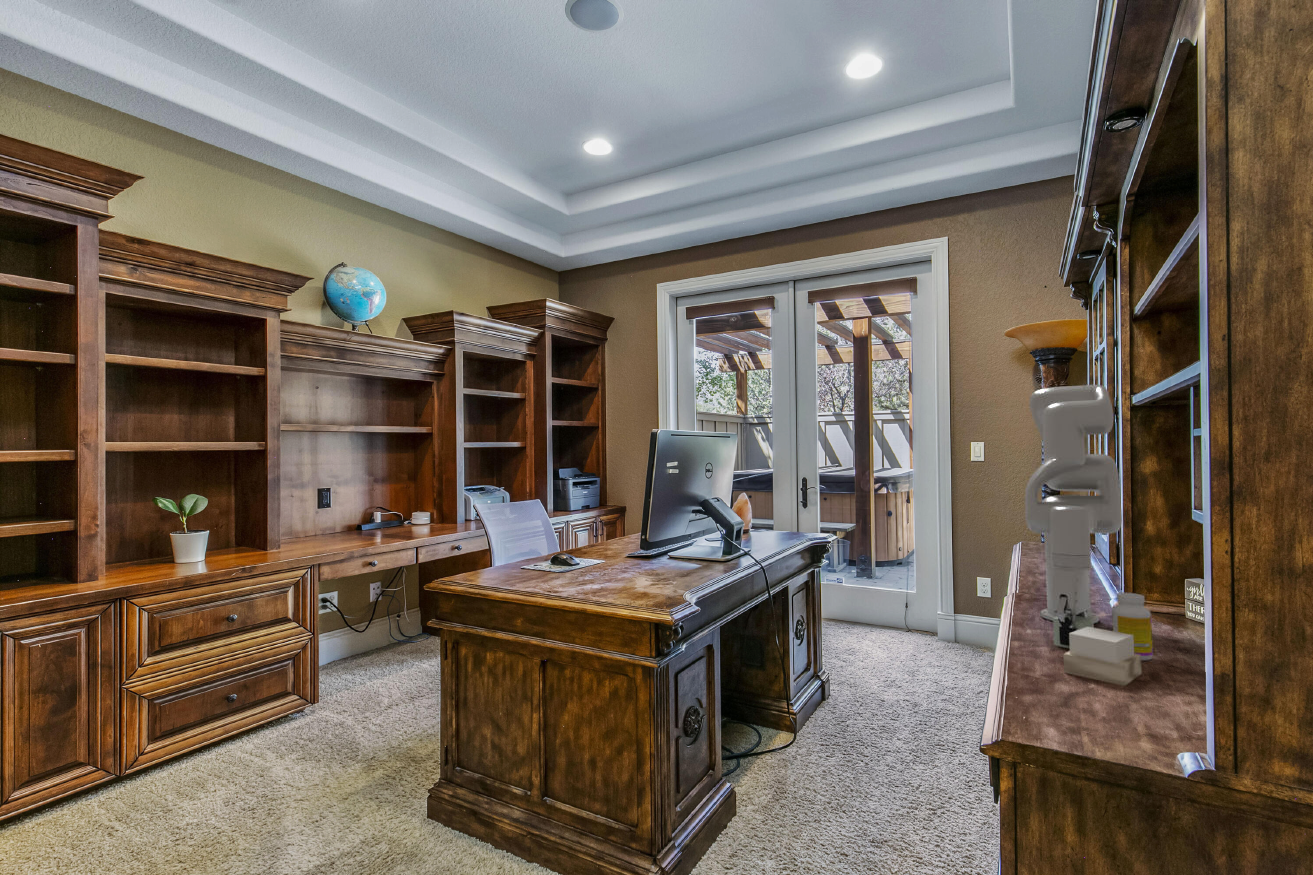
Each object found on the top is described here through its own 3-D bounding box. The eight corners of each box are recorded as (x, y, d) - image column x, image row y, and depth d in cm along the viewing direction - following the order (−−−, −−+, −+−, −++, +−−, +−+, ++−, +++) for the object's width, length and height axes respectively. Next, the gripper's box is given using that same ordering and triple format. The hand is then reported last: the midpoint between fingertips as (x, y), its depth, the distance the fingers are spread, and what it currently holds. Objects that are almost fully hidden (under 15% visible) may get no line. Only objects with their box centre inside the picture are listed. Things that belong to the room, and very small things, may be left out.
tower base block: (1083, 663, 134) (1082, 643, 134) (1141, 675, 126) (1140, 654, 126) (1064, 674, 128) (1063, 654, 128) (1124, 688, 120) (1123, 666, 120)
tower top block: (1088, 646, 132) (1087, 626, 132) (1134, 655, 126) (1133, 635, 126) (1069, 653, 128) (1069, 633, 128) (1116, 664, 121) (1115, 642, 121)
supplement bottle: (1160, 662, 132) (1157, 598, 132) (1123, 661, 133) (1120, 598, 134) (1142, 652, 139) (1139, 591, 139) (1107, 651, 140) (1105, 591, 140)
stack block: (1064, 640, 149) (1063, 613, 149) (1094, 645, 144) (1093, 618, 144) (1054, 645, 145) (1053, 618, 145) (1084, 651, 140) (1083, 623, 140)
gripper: (1066, 554, 153) (1069, 631, 153) (1036, 564, 142) (1040, 646, 142) (1103, 558, 147) (1106, 638, 147) (1075, 568, 137) (1079, 654, 136)
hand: (1074, 641), depth 144 cm, fingers closed on stack block, 6 cm apart
